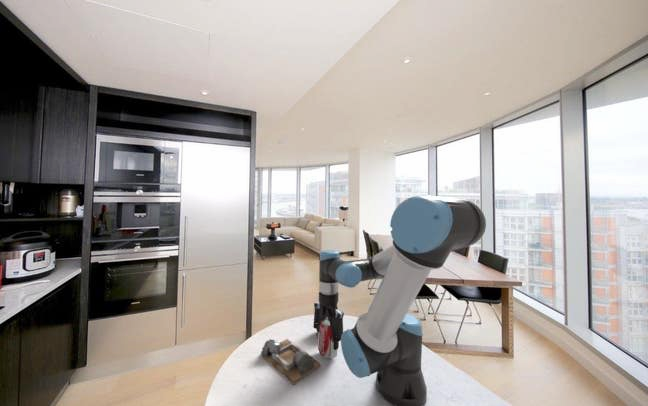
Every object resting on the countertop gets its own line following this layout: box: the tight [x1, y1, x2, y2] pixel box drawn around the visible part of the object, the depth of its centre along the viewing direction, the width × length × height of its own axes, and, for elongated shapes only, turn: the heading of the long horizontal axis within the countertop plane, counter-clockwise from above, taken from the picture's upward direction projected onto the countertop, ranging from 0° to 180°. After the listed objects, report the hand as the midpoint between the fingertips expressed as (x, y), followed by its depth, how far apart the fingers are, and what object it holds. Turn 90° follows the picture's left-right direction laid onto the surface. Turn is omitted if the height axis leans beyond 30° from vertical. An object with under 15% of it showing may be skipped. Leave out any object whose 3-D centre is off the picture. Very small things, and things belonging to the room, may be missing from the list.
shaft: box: [261, 339, 282, 358], centre depth 86 cm, size 6×6×4 cm
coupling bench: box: [260, 338, 322, 386], centre depth 84 cm, size 20×12×5 cm, turn 45°
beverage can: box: [318, 319, 333, 358], centre depth 88 cm, size 6×6×12 cm
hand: (327, 352), depth 87 cm, fingers closed on beverage can, 6 cm apart
